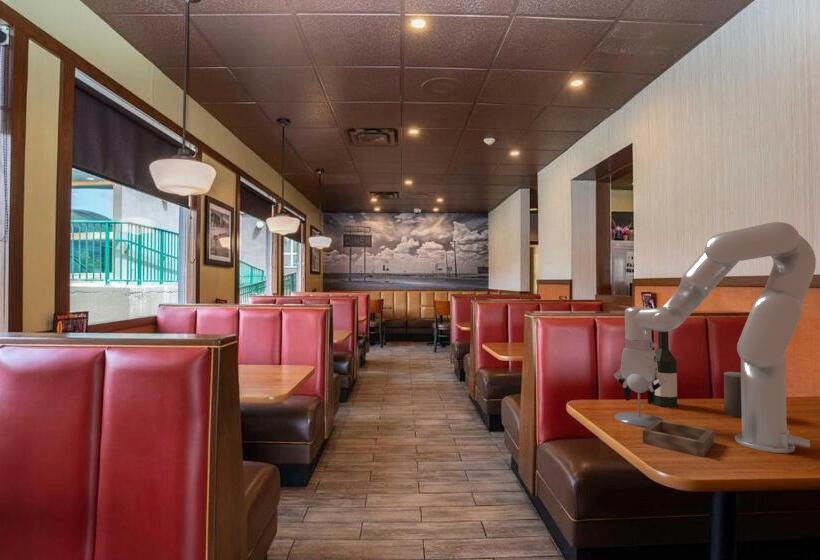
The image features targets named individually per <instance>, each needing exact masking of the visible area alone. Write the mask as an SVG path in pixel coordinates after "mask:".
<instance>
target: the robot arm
mask: <svg viewBox="0 0 820 560" xmlns="http://www.w3.org/2000/svg"><path fill="white" fill-rule="evenodd" d="M765 257H766V258H767V257H771V259H772V263H773V264H772V268H771V271H770V273H769V275H768V278H767V281H766V283H765V287H764V289H763V291H762V292H761V295H760V296H758V298H756V299H755V301H754V302H753V304H752V306H751V309H750V312H749V314H748V316H747V319H746V322H745V324H744V326H743V329H742V331H741V334H740V336H739V339H738V340H737V341H738V342H737V345H736V351H737V353H738V356H739V358H740V373H741V412H742V418H741V433H737V434H735V436H734V441H735V442H736V443H738V445H742V446H744V447H747V448H750V449H753V450H758V451H761V452H767V453H773V454H774V453H775V454H789V453H790V454H791V453H793V452H795V450H796V447H795V446H800V447H802V448H807V449H810V448H811V440H810V439H805V438H804V437H800V436H794V435H792V434H790V430H789V429H787V428H788V426H787V425H788V424H787V375H786V374H787V372H786V370H787V369H786V368H787V367H786V365H787V362H786V361H787V360H786V358H787V357H786V356H787V349H788V347H789V345H790V342H791V340H792V338H793V335H794V334H795V331H796V327H797V326H798V323H799V321H800V318H801V315H802V307H803V304H804V301H805V299H806V296H807V293H808V291H809V288H810V285H811V283H812V280H813V277H814V275H815V270H816V265H817V259H816V255H815V251H814V249H813V247H812V245H811V244H810V242H808V241H807V240H806V238H804V237H803V236H802V235H801V234H799V231H798V230H797V229H796V227H795V226H794V225H791V224H789V223H786V222H783V221H774V222H766V223H763V224H760V225H759V224H758V225H754V226H750V227H749V226H748V227H744V228H740V229H735V230H731V231H724V232H721V233H717V234H715V235H713V236H711V237H710V238H709V239H708V240H707V241H706V243H705V246H704V251H702V253H701V254H700V256H698V257H697V259H696V260H695V261H694V262H693V263H692V265H690V266H689V268H687V270H686V271H685V272H684V273H683V275H682V277H681V279H680V282H679V283H680V284H679V286H678V287H677V289H676V291H675V292H674V293H673V295H672V296H671V297H670V298H669V299H668V300H667V301H666V303H665V304H664V305H663V306H661V307H653V308H648V307H644V306H630V307H626V308H625V310H624V339H625V340H624V341H625V342H624V343H625V344H624V345H625V347H624V348H623V350H622V353H621V361H620V368H619V369H617V371H615V372H614V374H613V377H614V378H615V379H616V380H617V381H618V383H619V384H620V385H621V386H622V387H623V393H624V394H623V395H624V398H625V401H627V402H629V401H630V400H632V390H631V389H630V388H629V386H628V385H627V378H628V376H629V375H631V374H640V375H642V376H643V377H644V378H645V379H646V380H647V382H649V387H648V388H649V390H648V391H647V404H648V405H653V404H652V403H653V402H654V401H655V390H656V389H658V388H659V387H660V386H661V385H663V384H664V383H666V380H665V379H664V378H663V377H662V376H661V375H660V374H659V372H658V367H657V359H656V354H655V352H656V350H654V349H653V348H658V343H656V342H653V340H652V331H656V332H658V331H661V332H666V331H668V332H670V331H673V330H675V329H678V328H679V327H680V326H681V325H682V324H683V323H684V322H686V320H687V319H688V318H689V317H690V316H691V314H692V313H693V312H694V311H695V310H696V309H697V308H698V307H699V306H700V304H701V303H702V302H703V301H704V300H705V299H706V298H707V297H708V296H709V295H710V293H711V292H712V291H713V290H714V289H715V288H716V287H717V286H718V285H719V283H720V282H721V281H722V280H723V279H724V278H725V277H726V276H727V275H728V274H729V273H730V272H731V271H732V270H733V268H735V266H736V265H737V264H738V263H739V262H741V261H748V260H755V259H760V258H765ZM657 379H658V380H659V382H658V383H657V384H655V385H654V381H655V380H657Z"/></svg>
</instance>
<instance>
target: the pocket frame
mask: <svg viewBox="0 0 820 560" xmlns="http://www.w3.org/2000/svg"><path fill="white" fill-rule="evenodd" d="M714 443H715V430H714V429H709V428H705V427H698V426H694V425H688V424H683V423H677V422H672V421H667V420H663V419H662V420H658V419H657V420H656V421H654V422H653V423H652V424H650V425H649V426H648V427H644V429H643V430H642V444H645V445H650V446H654V447H658V448H663V449H666V450H670V451H674V452H675V451H676V452H680V453H684V454H688V455H692V456H698V457H701V458H704V457H705V456H706V455H707V453H708V452H709V450H710V449H711V448H712V446H713V445H714Z"/></svg>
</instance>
